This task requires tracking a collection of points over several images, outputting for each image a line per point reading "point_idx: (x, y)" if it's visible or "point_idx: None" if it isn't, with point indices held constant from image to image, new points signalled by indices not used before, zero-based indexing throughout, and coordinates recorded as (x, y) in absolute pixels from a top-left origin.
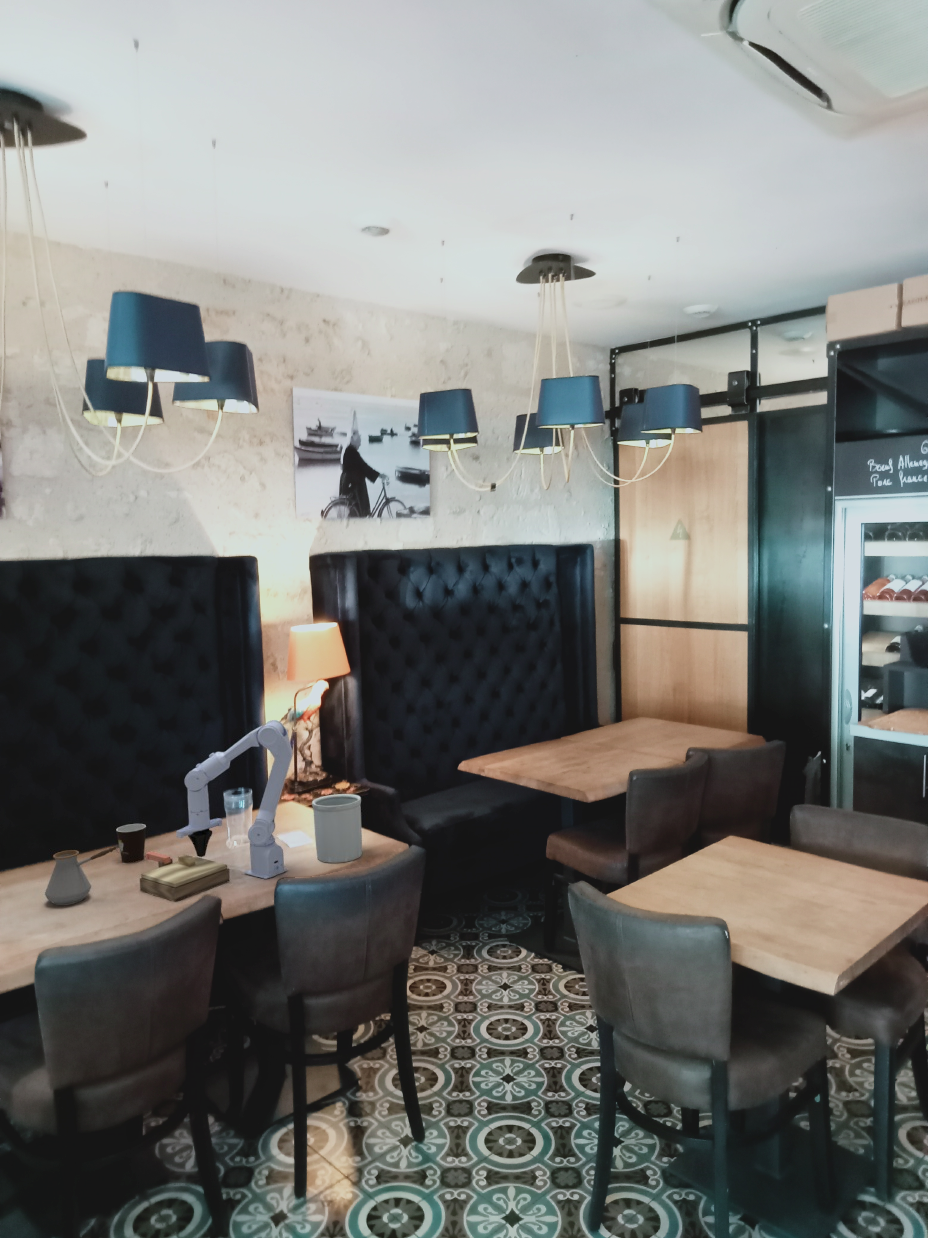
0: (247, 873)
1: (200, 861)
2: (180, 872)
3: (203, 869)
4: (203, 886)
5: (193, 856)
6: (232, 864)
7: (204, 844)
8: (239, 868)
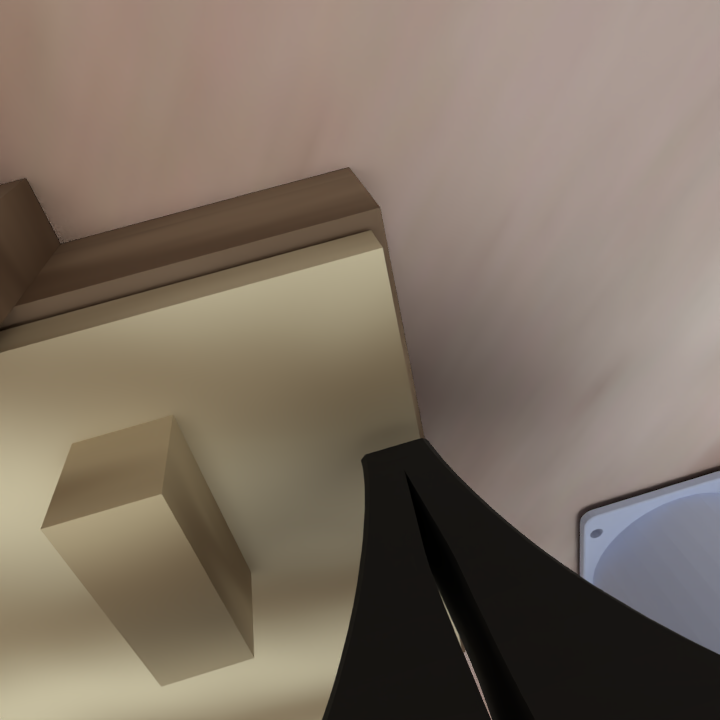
0: (582, 544)
1: (344, 512)
2: (31, 690)
3: (262, 703)
4: None
5: (375, 268)
6: (704, 240)
7: (482, 685)
8: (651, 379)
